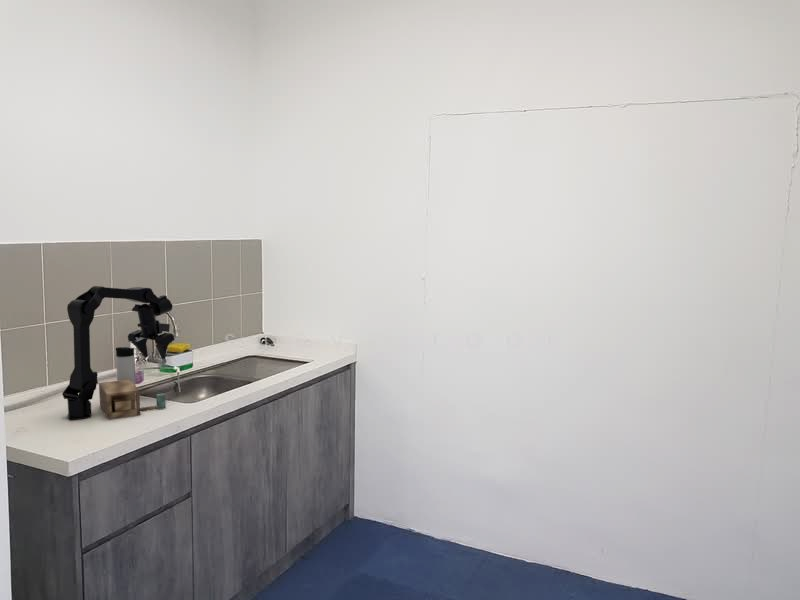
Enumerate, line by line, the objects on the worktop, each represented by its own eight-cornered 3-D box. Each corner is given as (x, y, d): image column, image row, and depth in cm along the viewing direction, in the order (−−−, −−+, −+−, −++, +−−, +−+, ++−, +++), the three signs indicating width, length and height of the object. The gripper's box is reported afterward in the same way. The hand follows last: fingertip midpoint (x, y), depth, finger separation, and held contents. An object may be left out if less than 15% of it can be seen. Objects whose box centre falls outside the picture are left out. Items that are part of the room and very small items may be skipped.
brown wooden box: (108, 419, 211) (107, 394, 210) (100, 406, 226) (98, 382, 225) (140, 414, 217) (139, 390, 216) (130, 402, 232) (129, 379, 230)
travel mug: (113, 399, 235) (111, 347, 233) (128, 395, 241) (126, 344, 239) (124, 402, 232) (122, 348, 230) (139, 397, 238) (137, 346, 236)
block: (115, 416, 215) (115, 402, 214) (113, 413, 219) (112, 399, 218) (166, 409, 224) (166, 395, 223) (163, 405, 228) (162, 392, 227)
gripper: (181, 314, 240) (188, 353, 244) (146, 311, 248) (153, 348, 252) (159, 324, 230) (166, 363, 234) (123, 320, 238) (131, 358, 242)
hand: (155, 358), depth 241 cm, fingers open, 9 cm apart
